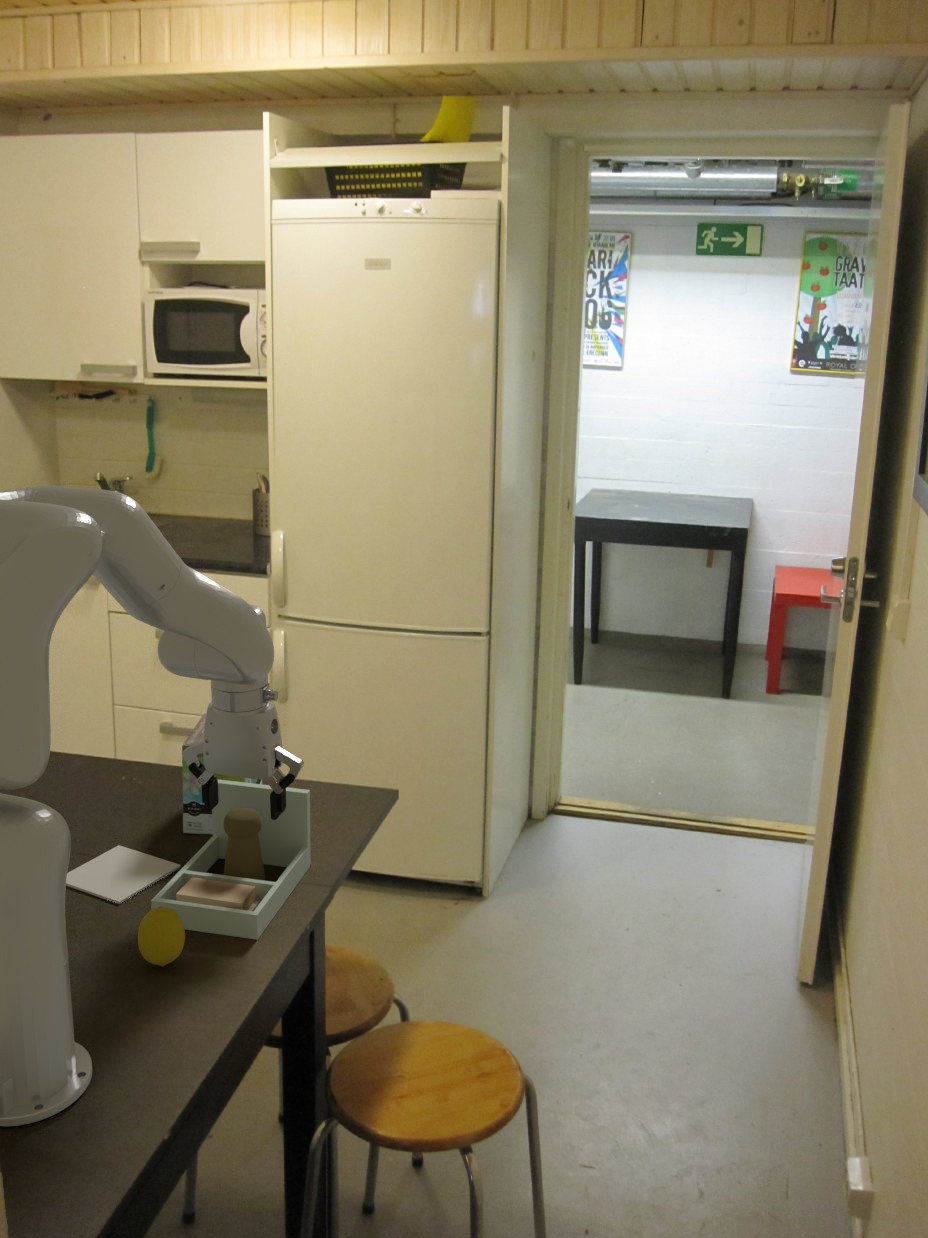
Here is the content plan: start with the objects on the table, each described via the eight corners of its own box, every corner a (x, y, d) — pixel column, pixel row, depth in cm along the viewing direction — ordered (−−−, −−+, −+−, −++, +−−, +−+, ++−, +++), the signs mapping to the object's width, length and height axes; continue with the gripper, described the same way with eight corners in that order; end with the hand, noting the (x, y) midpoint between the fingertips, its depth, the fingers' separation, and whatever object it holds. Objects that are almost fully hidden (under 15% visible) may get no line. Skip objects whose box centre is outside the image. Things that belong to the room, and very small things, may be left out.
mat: (119, 904, 145) (119, 902, 145) (55, 882, 150) (55, 879, 150) (180, 867, 155) (180, 865, 155) (118, 847, 160) (118, 845, 160)
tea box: (247, 837, 165) (245, 747, 161) (181, 835, 165) (178, 745, 161) (264, 796, 180) (262, 712, 176) (204, 794, 180) (201, 711, 176)
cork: (214, 890, 149) (211, 817, 147) (235, 870, 155) (233, 800, 152) (253, 897, 148) (251, 824, 145) (273, 877, 153) (272, 806, 150)
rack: (257, 940, 138) (255, 854, 134) (152, 924, 140) (148, 841, 137) (310, 866, 157) (310, 790, 154) (217, 853, 160) (214, 779, 156)
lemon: (137, 957, 133) (134, 899, 131) (183, 950, 135) (181, 893, 133) (141, 982, 128) (137, 923, 126) (188, 974, 130) (186, 915, 128)
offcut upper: (241, 917, 140) (241, 903, 139) (176, 907, 142) (175, 894, 141) (255, 899, 144) (255, 886, 143) (192, 890, 146) (191, 877, 145)
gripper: (310, 692, 146) (312, 807, 151) (192, 681, 149) (197, 793, 154) (291, 711, 139) (294, 831, 144) (167, 699, 142) (174, 816, 147)
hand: (244, 811), depth 149 cm, fingers open, 9 cm apart
